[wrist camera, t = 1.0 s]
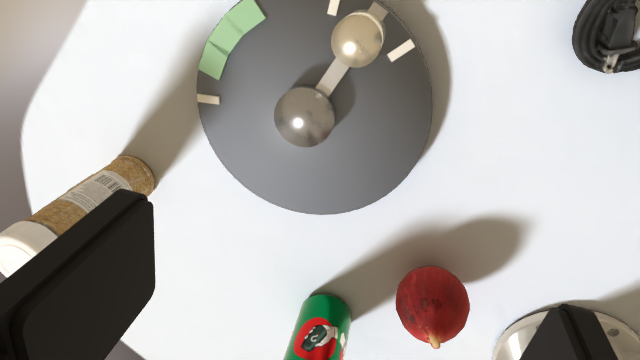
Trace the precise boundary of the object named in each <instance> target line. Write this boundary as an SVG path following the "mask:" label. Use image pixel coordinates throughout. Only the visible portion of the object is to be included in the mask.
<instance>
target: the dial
mask: <svg viewBox="0 0 640 360" xmlns="http://www.w3.org/2000/svg"><path fill="white" fill-rule="evenodd" d="M374 1H375V2H376V3H377V4H379V5H380V6H381V7H383V8H384V9H385V10H386V11H388V13H387V14H386V16H385V17H384V19H383V22H384V25H385V29H386V36H385V40H384V43H383V45H382V47H381V49H380V51H379V54H378V55H377V57H376V58H375V59H374V60H373V61H372V62H371V63H370V64H368V65H366V66H363V67H358V68H353V67H349V68H348V70H347V71H346V73H345V74H344V75H343V77H342V78H341V80H340V81H339V82H338V84H337V85H336V87H335V88H334V89H333V91H332V92H331V94H330V95H329V96H330V98H331V99H332V101H333V103H334V105H335V108H336V122H335V125H334V127H333V129H332V131H331V133H330V135H329V136H328V138H327V139H326V140H325V141H324V142H322V143H321V144H319V145H317V146H313V147H299V146H296V145H293V144H291V143H290V142H288V141H287V140H285V139H284V138H283V137H282V136H281V134H280V133H279V131H278V130H277V128H276V125H275V121H274V110H275V106H276V104H277V102H278V100H279V99H280V98H281V97H282V96H283V95H284V94H285V93H286V92H287V91H288V90H289V89H291V88H292V87H294V86H297V85H302V84H309V85H313V86H317V85H318V83H319V82H320V80H321V79H322V77H323V76H324V74H325V73H326V71H327V70H328V69H329V67H330V66H331V64H332V63H333V61H334V60H335V58H336V56H335V55H334V53H333V50H332V47H331V36H332V32H333V30H334V28H335V26H336V25H337V24H338V23H339V22H340V21H341V20H342V19H344V18H345V17H346V16H348V15H349V14H350V13H352V12H354V11H356V10H359V9H368V10H369V8H370V7H371V5H372V4H373V2H374ZM198 69H199V70H198V78H197V102H198V108H199V114H200V118H201V122H202V125H203V128H204V131H205V134H206V136H207V138H208V140H209V143H210V145H211V146H212V148H213V150H214V152H215V153H216V155H217V157H218V158H219V160H220V161H221V162H222V164H223V165H224V166H225V168H226V169H227V170H228V171H229V172H230V173H231V174H232V175H233V176H234V178H235V179H237V180H238V181H239V182H240V183H241V184H242V185H243V186H244V187H246V188H247V189H249V190H250V191H251V192H253V193H254V194H256V195H257V196H259V197H261V198H262V199H264V200H266V201H268V202H270V203H272V204H275V205H277V206H279V207H282V208H285V209H288V210H292V211H295V212H301V213H306V214H318V215H327V214H339V213H345V212H350V211H353V210H357V209H360V208H363V207H365V206H367V205H370V204H372V203H374V202H376V201H378V200H379V199H381V198H383V197H384V196H386V195H387V194H388V193H390V192H391V191H392V190H394V189H395V188H396V187H397V186H398V185H399V184H400V183H401V182H402V181H403V180H404V179H405V178H406V177H407V176H408V174H409V173H410V172H411V170H412V169H413V167H414V166H415V165H416V163H417V161H418V159H419V157H420V155H421V154H422V152H423V149H424V146H425V144H426V141H427V138H428V134H429V130H430V125H431V117H432V94H431V83H430V78H429V73H428V69H427V66H426V63H425V60H424V57H423V54H422V52H421V50H420V48H419V46H418V44H417V42H416V40H415V39H414V37H413V36H412V34H411V33H410V31H409V30H408V28H407V27H406V26H405V24H404V23H403V22H402V21H401V20H400V19H399V18H398V17H397V16H396V15H395V14H394V12H393V11H391V10H390V9H389V8H388V7H386V6H385V5H384V4H383V3H381V2H380V1H379V0H241V1H240V2H239V3H237V4H236V5H235V6H233V7H232V8H231V9H230V10H229V12H227V13H226V14H225V15H224V16H223V18H222V19H221V20H220V22H219V23H218V24H217V26H216V27H215V29H214V30H213V32H212V34H211V35H210V37H209V38H208V40H207V42H206V45H205V48H204V51H203V54H202V57H201V60H200V63H199V66H198Z"/></svg>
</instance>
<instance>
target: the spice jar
mask: <svg viewBox="0 0 640 360" xmlns="http://www.w3.org/2000/svg"><path fill="white" fill-rule="evenodd" d="M122 188H123V189H127V190H131V191H135V192H139V193H142V194H145V195H146V196H149V195H150V194H151V193H152V192H153V189H154V177H153V175H152V172H151V170H150V169H149V168H148V167H147V166H146V165H145V164H144V163H143V162H142V161H140V160H139V159H137V158H135V157H132V156H120V157H117V158H116V159H115V160H113V161H112V162H111V164H109V165H108V166H106V167H104V168H103V169H102V170H100V171H98V172H97V173H95V174H92V175H91V176H89V177H88V178H86V179H84V180H83V181H81V182H80V183H78V184H77V185H75V186H74V187H72V188H71V189H69V190H68V191H67V192H66V193H65V194H63V195H62V196H60V197H59V198H57V199H56V200H54V201H53V202H51V203H50V204H49V205H47V206H45V207H44V208H42V209H41V210H39V211H38V212H37V213H35V214H34V215H33V216H30V217H29V218H27V219H25V220H22V221H20V222H17V223H15V224H13V225H12V226H10V227H9V228H7V229H6V230H4V231H3V232H1V233H0V271H1V272H2V273H3V274H4V275H5V276H6V277H7V278H8V277H9V276H10V275H12V274H13V273H14V272H15V271H17V270H18V269H19V268H20V267H22V266H23V265H24V264H25V263H27V262H28V261H29V260H30V259H32V258H33V257H34V256H35V255H37V254H38V253H39V252H40V251H42V250H43V249H44V248H45V247H47V246H48V245H49V244H50V243H51V242H53V241H54V240H55V239H56V238H58V237H59V236H60V235H61V234H63V233H64V232H65V231H66V230H68V229H69V228H70V227H71V226H73V225H74V224H75V223H76V222H78V221H79V220H80V219H81V218H83V217H84V216H85V215H86V214H88V213H89V212H90V211H91V210H93V209H94V208H95V207H96V206H98V205H99V204H100V203H101V202H103V201H104V200H105V199H106V198H108V197H109V196H110V195H111V194H113V193H114V192H115V191H116V190H118V189H122Z"/></svg>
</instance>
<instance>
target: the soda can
mask: <svg viewBox="0 0 640 360" xmlns="http://www.w3.org/2000/svg"><path fill="white" fill-rule="evenodd" d="M350 324H351V313H350V310H349V309H348V307H347V306H346V305H345V303H344V302H342V301H341V300H340V299H338V298H337V297H335V296H332V295H328V294H319V295H314V296H311V297H309V298H308V299H306V300H305V301H304V303H303V305H302V307H301V310H300V313H299V316H298V319H297V322H296V325H295V328H294V330H293V333H292V336H291V339H290V342H289V345H288V348H287V351H286V354H285V357H284V360H344V355H345V350H346V345H347V339H348V334H349V329H350Z"/></svg>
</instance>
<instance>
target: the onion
mask: <svg viewBox="0 0 640 360" xmlns="http://www.w3.org/2000/svg"><path fill="white" fill-rule="evenodd" d="M396 310H397V313H398V315H399V317H400V319H401V322H402V324H403V325H404V327H405V328H406V329H407V331H408V332H410V333H411V334H412V335H413V336H414V337H415V338H417V339H419V340H421V341H423V342H426V343H430V344H431V346H432V347H433V348H434V349H438V348H440V343H444V342H446V341H448V340H450V339H452V338H454V337H455V336H456V335H457V334H458V333H459V332H460V331H461V330H462V329H463V328H464V326H465V324H466V321H467V317H468V314H469V311H470V303H469V299H468V295H467V291H466V289H465V287H464V285H463V284H462V283H461V282H460V281H459V280H458V279H457V277H456V276H454V275H453V274H451V273H450V272H448V271H446V270H445V269H443V268H438V267H433V266H430V267H420V268H418V269H416V270H413V271H411V272H409V273H408V274H407V275H406V276H405V278H404V279H403V280H402V281H401V282H400V284H399V286H398V289H397V294H396Z"/></svg>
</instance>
